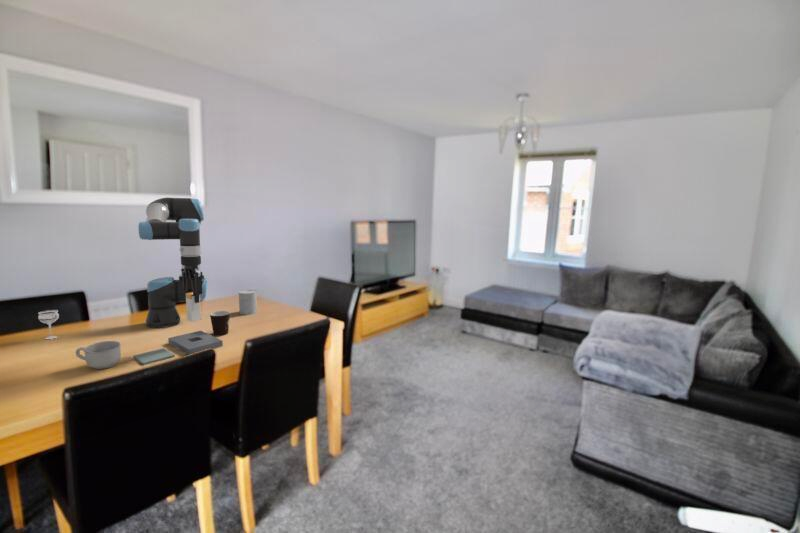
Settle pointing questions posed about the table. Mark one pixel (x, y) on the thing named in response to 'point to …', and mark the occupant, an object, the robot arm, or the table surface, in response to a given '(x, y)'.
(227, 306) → the table surface
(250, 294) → the grey canister
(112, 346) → the teacup
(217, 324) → the coffee mug
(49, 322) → the wineglass
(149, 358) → the pad
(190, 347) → the grey flat block
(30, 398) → the table surface
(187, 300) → the white tall block
